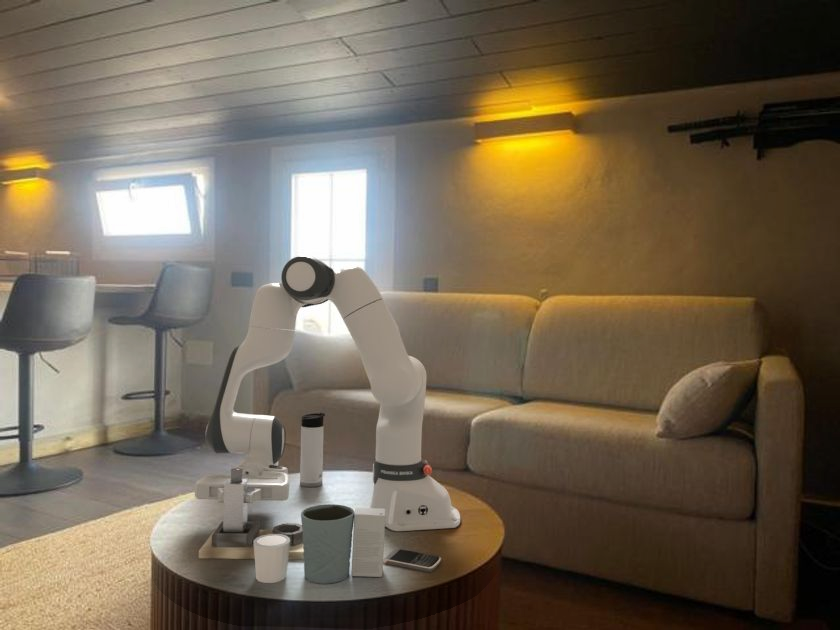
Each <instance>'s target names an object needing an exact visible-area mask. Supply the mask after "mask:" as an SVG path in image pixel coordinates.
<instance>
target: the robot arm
mask: <svg viewBox="0 0 840 630" xmlns="http://www.w3.org/2000/svg"><path fill="white" fill-rule="evenodd" d="M383 297H384V296H382V294H381V292H380V291H379V288H377V286H376V285H375V283H374V281H373V280H372V278H371V277H370V276H369V274H367V272H366V271H365V270H364V268H361V267H360V266H357V265H353V266H352V265H351V266H347V267H343V268H341V269H339V270H334V269H333V268H332V267H330V266H328V265H327V264H326V263H325V262H324V261H322V260H320V259H318V258H316V257H314V256H310V255H298V256H295V257H293V258H291V259H289V260H288V261H287V262H286V263H285V265H284V267H283V268H282V271H281V282H271V283H266V284H262V286H260V287H259V288H258V289H257V290H256V293H255V295H254V300H253V303H252V307H251V310H250V311H251V312H250V317H249V322H248V323H249V324H248V331H247V334H246V337H245V338H244V340H243V341H242V343H241V345H238V346H236V347H234V348H233V350H232V352H231V353H230V356H229V357H228V361H227V364H226V367H225V370H224V372H223V373H224V374H223V377H222V380H221V383H220V387H219V390H218V394H217V397H216V399H215V400H216V401H215V404H214V407H213V410H212V413H211V415H210V418H209V421H208V422H207V423H208V424H207V425H206V430H205V434H204V435H205V438H204V440H205V443H206V445H207V446H208V447H209V449H210V450H212V451H213V452H214V453H215V454H239V455H240V454H243V455H246V456H245V457H243V459H242V460H241V462H239V463H238V464H237V465H236V466H235V468H241V469H243V477H242V479H248V493H246V494H245V503H248V504H252V503H253V502H255V501H277V502H282V501H287V500H288V499H289V496H290V476H289V469H288V467H285V466H281V465H279V461H280V460H281V458H282V457H283V455H284V452H285V447H286V440H287V439H286V438H287V437H286V436H287V435H286V432H287V431H286V427H285V426H284V424H283V422H282V421H281V420H280V418H278V416H275V415H266V414H259V413H258V414H253V413H243V412H236V411H235V410H234V407H235V403H236V399H237V396H238V392H239V390H240V385H241V383H242V380H243V378H244V377H245V376H246V375H247V374H248V373H250V372H251V371H255V370H258V369H261V368H264V367H268V366H272V365H275V364H278V363H279V362H281V361H283V360H285V359H286V358H287V357H288V356H289V354H290V353H291V352H292V349H293V345H294V341H295V335H296V322H297V315H298V312H299V310H300V309H301V308H307V307H311V306H318V305H321V304H324V303H326V302H328V301H330V302H331V303H333V304H334V306H335V307H336V310H337V311H338V312H339V314H340V317H341V319H342V320H343V323H344V324H345V326H346V328H347V330H348V332H349V334H350V336H351V338H352V340H353V341H354V344H355V346H356V349H357V350H358V353H359V356H360V358H361V362H362V365H363V368H364V371H365V373H366V377H367V379H368V381H369V384H370V390H371V393H372V396H373V397H374V398H375V400H376V401H377V402H378V403H380V405H379V407H380V408H379V413H378V419H377V423H376V429H375V458H374V459H373V464H372V481H373V488H372V489H373V491H372V496H371V501H370V507H369V508H374V509H385V528H387V529H389V530H391V531H393V532H407V531H410V532H411V531H422V530H423V531H424V530H426V531H427V530H437V529H439V530H442V529H454V528H457V527H458V526H459V525H460V524H461V514H460V512H459V510H458V509H457V508H456V507H454V506H452V501H451V497H450V493H449V492H448V490H447V489H446V488H445V486H443V485H441V483H439V482H438V481H437V480H435V479H434V478H433V477H431V476H430V475H431V474H432V473H433V469H432V466H431V465H430V463H429V462H428V461H427V460H426V459H423V458H422V437H423V436H422V435H423V431H422V430H423V421H424V413H425V403H426V391H427V379H428V378H427V371H426V368H425V366H424V365H423V363H422V362H421V361H420V360H419V359H418V358H416V357H414V356H411V355H409V354H408V352H407V349H406V347H405V344H404V342H403V339H402V337H401V333H400V329H399V328H400V327H399V326H398V325H397V322H396V321H395V318H394V316H393V315H392V313H391V311H390V309H389V307H388V306H387V303H386V301H385V300H384V298H383ZM229 478H230V479H231V474H208V475H205V476H203V477H201V478H199V479H198V480H197V481H196V482H195V483H194V497H195V498H196V499H198V500H218V501H217V502H218V503H224V484H225V483H226V482H227V481H228V479H229Z"/></svg>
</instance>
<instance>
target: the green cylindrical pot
mask: <svg viewBox="0 0 840 630" xmlns="http://www.w3.org/2000/svg"><path fill="white" fill-rule="evenodd" d="M354 513H355V510H354V509H353V508H352V507H349V506H346V505H342V504H334V503H331V504H330V503H329V504H328V503H327V504H318V505H313V506H309V507H307V508H304V509H303V510H302V511H301V513H300V519H301V525H302V530H303V545H304V546H303V549H304V552H303V554H304V559H303V562H304V563H303V570H304V576H305V579H306V580H308V581H309V582H311V583H314V584H322V585H323V584H325V585H326V584H333V583H338V582H341V581H344V580H345V579H346V578H348V577H349V574H350V568H351V567H350V566H351V562H350V561H351V558H352V557H351V556H352V555H351V554H352V545H353V531H354Z"/></svg>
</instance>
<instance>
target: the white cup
mask: <svg viewBox="0 0 840 630" xmlns="http://www.w3.org/2000/svg"><path fill="white" fill-rule="evenodd" d="M253 542H254V556H255V559H254V566H255V578H256V580H257V581H258V582H259V583H265V584H272V583H274V584H275V583H278V582H282V581H283V580H285V579H286V577H287V571H288V562H289V559H288V556H289V547H290V538H289V537H288V536H285V535H282V534H267V535H263V536H260V537H257V538H256V539H255V540H254V541H253Z"/></svg>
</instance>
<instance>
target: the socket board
mask: <svg viewBox="0 0 840 630" xmlns="http://www.w3.org/2000/svg"><path fill="white" fill-rule="evenodd" d="M260 524H261V523H260V521H247V526H246V528H245V529H244V531H243V532H223V520H222V522H220V524H219V525H218V527H217V528H216V529H214V530H213V532H212V533H211V535H210V536H209V537H208V538H207V540H206V541H205V543H203V545H202V546H201V547H200V549H199V550H198V559H221V560H222V559H229V560H231V559H232V560H234V559H235V560H240V559H241V560H244V559H245V560H246V559H247V560H249V559H251V560H255V556H254V542H253V541H254V540H255V539H256V538H257V537H260V536H263V535H267V534H282V535H285V536H288V537H289V538H290V547H289V556H288V560H304V554H303V552H304V549H303V546H304V545H303V530H302V524H301V523H297V522H296V523H294V522H293V523H292V522H291V523H290V522H289V523H287V522H286V523H281V524H277V525H275V526H274V527H273V529H260Z"/></svg>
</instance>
